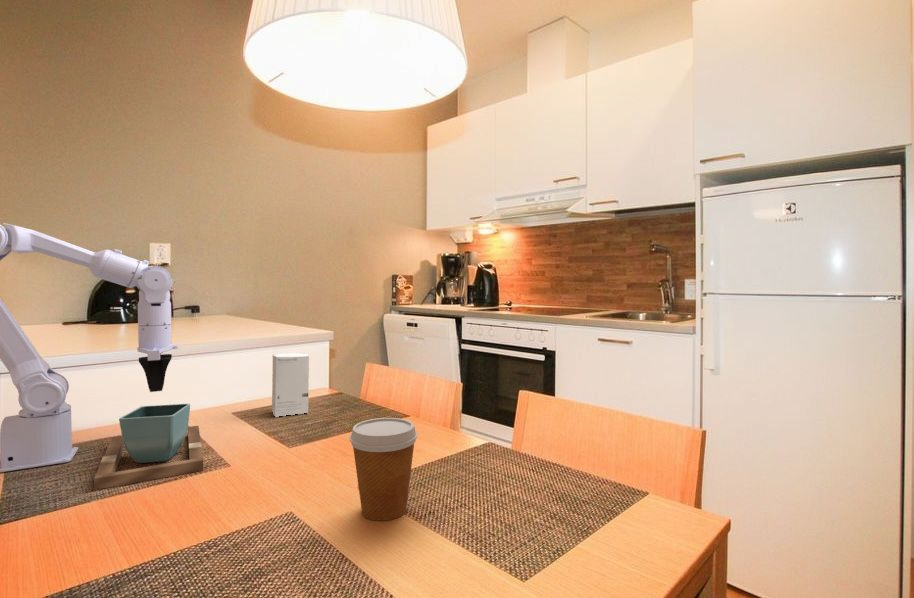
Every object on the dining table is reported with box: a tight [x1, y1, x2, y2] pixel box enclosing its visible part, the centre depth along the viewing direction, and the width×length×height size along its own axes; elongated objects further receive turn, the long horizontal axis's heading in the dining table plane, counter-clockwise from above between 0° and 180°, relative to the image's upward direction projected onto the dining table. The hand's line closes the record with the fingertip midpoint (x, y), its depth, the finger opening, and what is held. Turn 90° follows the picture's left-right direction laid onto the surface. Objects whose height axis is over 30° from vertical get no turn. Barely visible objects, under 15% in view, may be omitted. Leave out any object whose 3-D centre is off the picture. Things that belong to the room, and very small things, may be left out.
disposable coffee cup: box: [348, 417, 419, 522], centre depth 66 cm, size 10×10×12 cm
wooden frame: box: [93, 425, 204, 491], centre depth 86 cm, size 15×24×2 cm, turn 31°
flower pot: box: [118, 403, 191, 464], centre depth 86 cm, size 9×9×9 cm
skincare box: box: [271, 353, 310, 418], centre depth 117 cm, size 8×6×15 cm
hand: (156, 390), depth 95 cm, fingers closed
